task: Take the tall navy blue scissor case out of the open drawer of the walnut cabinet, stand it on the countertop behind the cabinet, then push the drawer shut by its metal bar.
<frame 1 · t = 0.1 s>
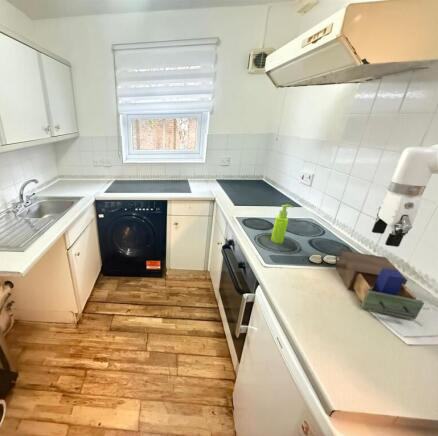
hand: (384, 238, 79), 23 cm above the worktop, tool pointing down, fingers open, 9 cm apart
cabinet: (363, 282, 94), on the worktop
soap dispenser: (277, 241, 126), on the worktop
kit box: (380, 299, 82), point 2 cm above the worktop, touching drawer
drawer: (384, 295, 80), point 4 cm above the worktop, slide at 10.0 cm, touching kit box
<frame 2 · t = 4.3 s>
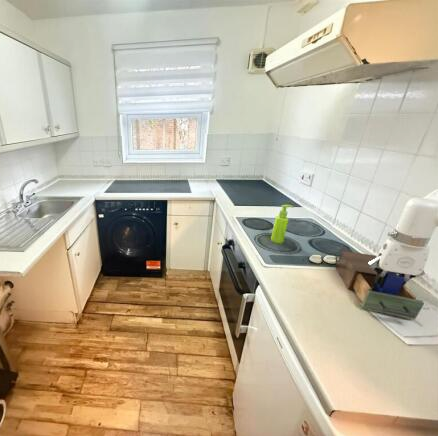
hand: (386, 286, 80), 8 cm above the worktop, tool pointing down, fingers closed on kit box, 4 cm apart
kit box: (380, 299, 82), point 2 cm above the worktop, touching drawer, gripper
everything else where it was.
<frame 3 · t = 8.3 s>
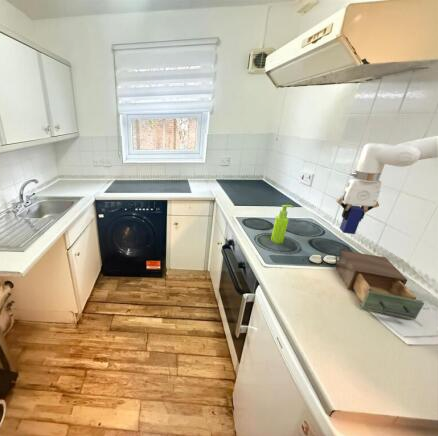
hand: (351, 219, 99), 21 cm above the worktop, tool pointing down, fingers closed on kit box, 4 cm apart
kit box: (346, 231, 102), point 15 cm above the worktop, touching gripper
drawer: (384, 295, 80), point 4 cm above the worktop, slide at 10.0 cm
everything else where it was.
when the fingers open (6 cm above the worktop, at t = 12.1 s): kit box stays where it is, on the worktop.
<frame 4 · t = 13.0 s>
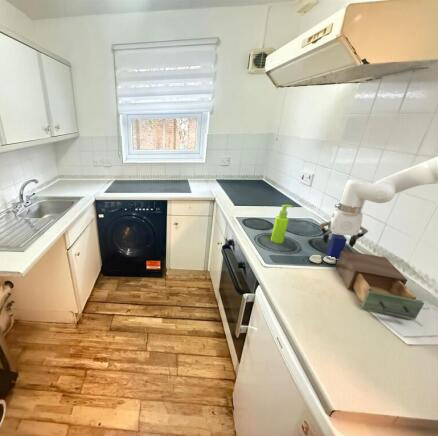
hand: (337, 243, 107), 7 cm above the worktop, tool pointing down, fingers open, 9 cm apart
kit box: (332, 257, 110), on the worktop
everything else where it was.
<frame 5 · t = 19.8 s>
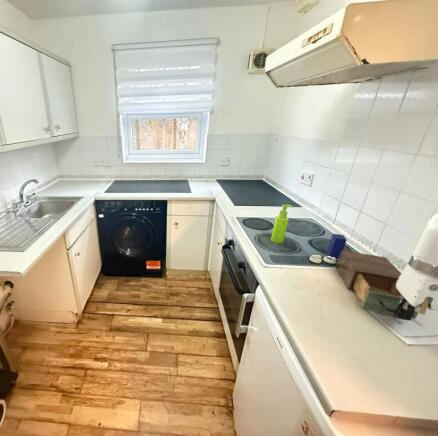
hand: (401, 317, 71), 5 cm above the worktop, tool pointing down, fingers closed
drawer: (384, 295, 80), point 4 cm above the worktop, slide at 9.9 cm, touching gripper
everything else where it was.
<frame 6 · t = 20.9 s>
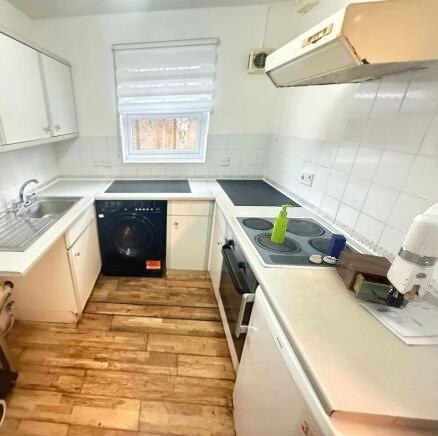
hand: (392, 305, 76), 5 cm above the worktop, tool pointing down, fingers closed
drawer: (376, 285, 85), point 4 cm above the worktop, slide at 4.5 cm, touching gripper
everything else where it was.
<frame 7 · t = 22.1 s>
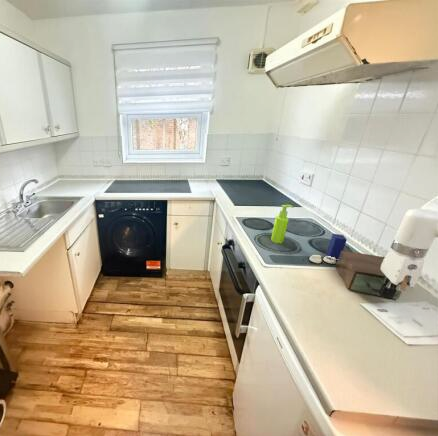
hand: (385, 295, 80), 5 cm above the worktop, tool pointing down, fingers closed
drawer: (371, 278, 89), point 4 cm above the worktop, slide at 0.0 cm, touching cabinet, gripper
everything else where it was.
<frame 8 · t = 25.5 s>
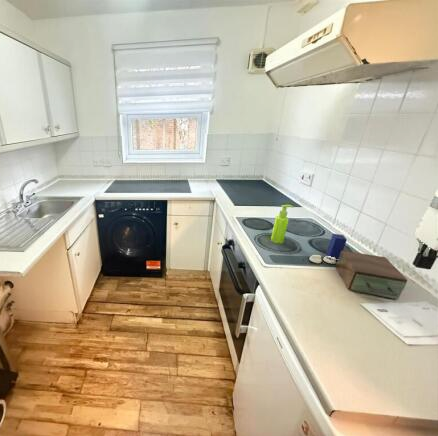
hand: (421, 266, 67), 21 cm above the worktop, tool pointing down, fingers closed
drawer: (371, 278, 89), point 4 cm above the worktop, slide at 0.0 cm, touching cabinet
everything else where it was.
at the end: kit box inside the target area (0.0 cm from its centre), on the worktop; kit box tilted 0°; drawer slide at 0.0 cm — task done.
